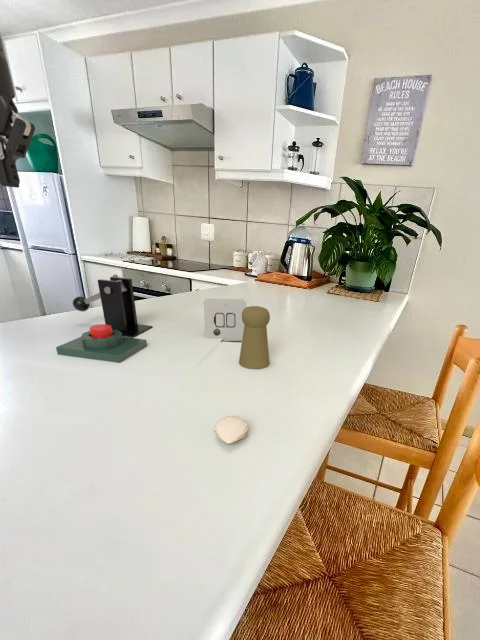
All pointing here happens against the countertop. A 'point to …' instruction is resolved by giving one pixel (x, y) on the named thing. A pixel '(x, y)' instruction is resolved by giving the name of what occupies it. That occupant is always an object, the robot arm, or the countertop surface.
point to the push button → (101, 331)
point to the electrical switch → (224, 319)
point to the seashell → (231, 429)
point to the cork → (255, 338)
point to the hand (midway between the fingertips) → (10, 186)
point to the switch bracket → (120, 307)
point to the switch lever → (90, 299)
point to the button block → (102, 347)
